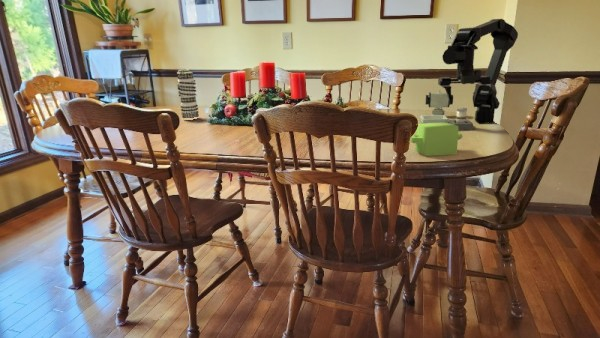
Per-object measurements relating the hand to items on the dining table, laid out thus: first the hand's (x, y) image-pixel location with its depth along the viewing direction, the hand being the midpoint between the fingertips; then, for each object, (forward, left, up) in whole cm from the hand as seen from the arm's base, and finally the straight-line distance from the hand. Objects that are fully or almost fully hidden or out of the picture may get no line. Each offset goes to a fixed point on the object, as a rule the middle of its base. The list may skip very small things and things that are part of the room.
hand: (462, 102), depth 163 cm
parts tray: (+9, -10, -10) cm, 17 cm away
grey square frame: (0, 0, -10) cm, 10 cm away
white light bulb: (0, 0, -10) cm, 10 cm away
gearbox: (+14, +35, -11) cm, 39 cm away
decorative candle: (+127, -26, -10) cm, 130 cm away
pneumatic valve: (+5, -24, -10) cm, 27 cm away
